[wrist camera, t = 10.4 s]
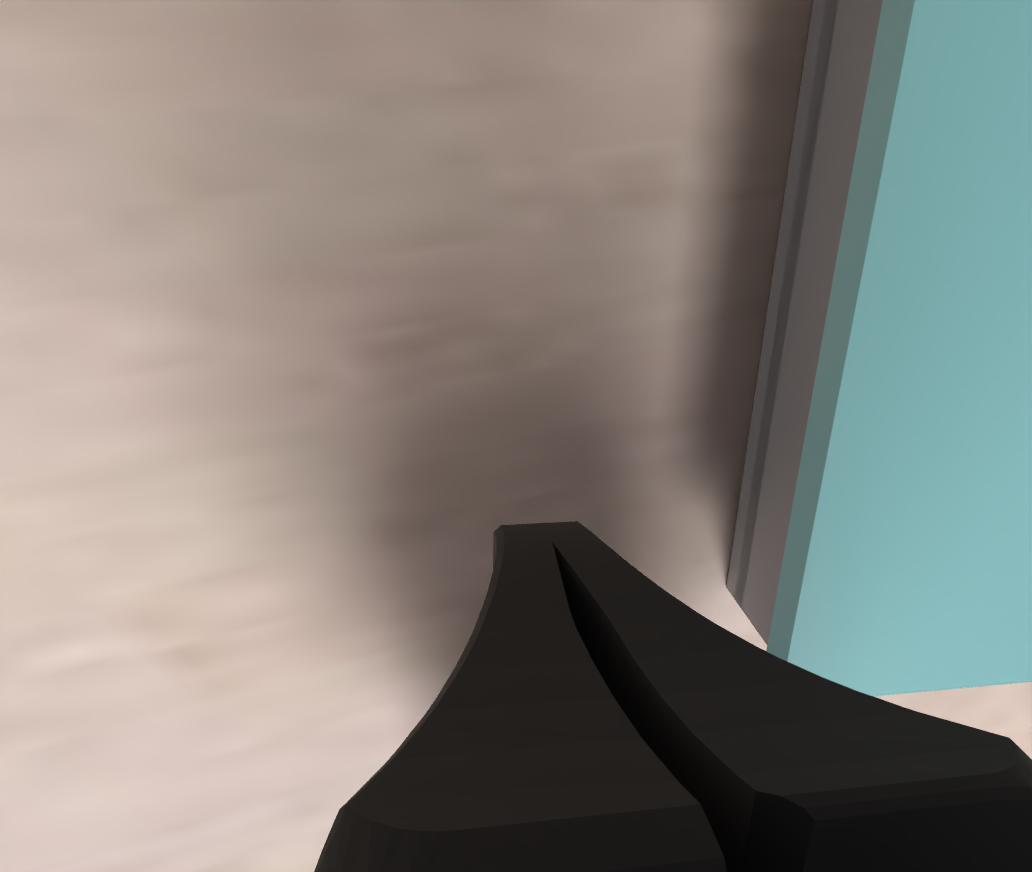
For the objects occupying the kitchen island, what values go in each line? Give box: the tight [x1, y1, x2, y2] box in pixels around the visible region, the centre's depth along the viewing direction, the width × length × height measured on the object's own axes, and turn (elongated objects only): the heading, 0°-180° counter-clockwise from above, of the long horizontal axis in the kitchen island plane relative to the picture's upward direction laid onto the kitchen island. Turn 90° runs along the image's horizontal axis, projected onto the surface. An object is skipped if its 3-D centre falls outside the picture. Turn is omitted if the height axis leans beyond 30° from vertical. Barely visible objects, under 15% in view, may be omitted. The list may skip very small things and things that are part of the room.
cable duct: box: [726, 0, 883, 645], centre depth 19 cm, size 18×10×4 cm, turn 179°
